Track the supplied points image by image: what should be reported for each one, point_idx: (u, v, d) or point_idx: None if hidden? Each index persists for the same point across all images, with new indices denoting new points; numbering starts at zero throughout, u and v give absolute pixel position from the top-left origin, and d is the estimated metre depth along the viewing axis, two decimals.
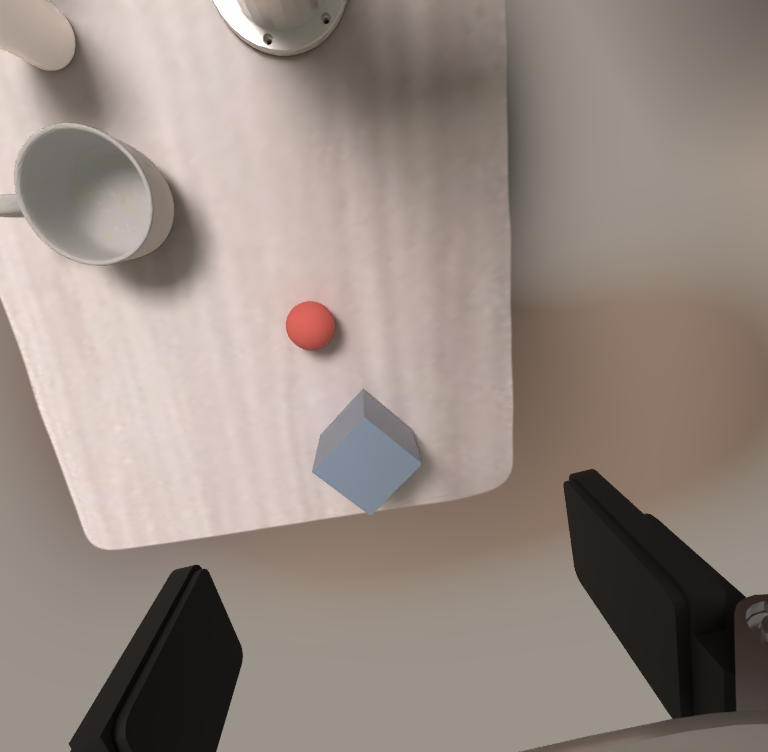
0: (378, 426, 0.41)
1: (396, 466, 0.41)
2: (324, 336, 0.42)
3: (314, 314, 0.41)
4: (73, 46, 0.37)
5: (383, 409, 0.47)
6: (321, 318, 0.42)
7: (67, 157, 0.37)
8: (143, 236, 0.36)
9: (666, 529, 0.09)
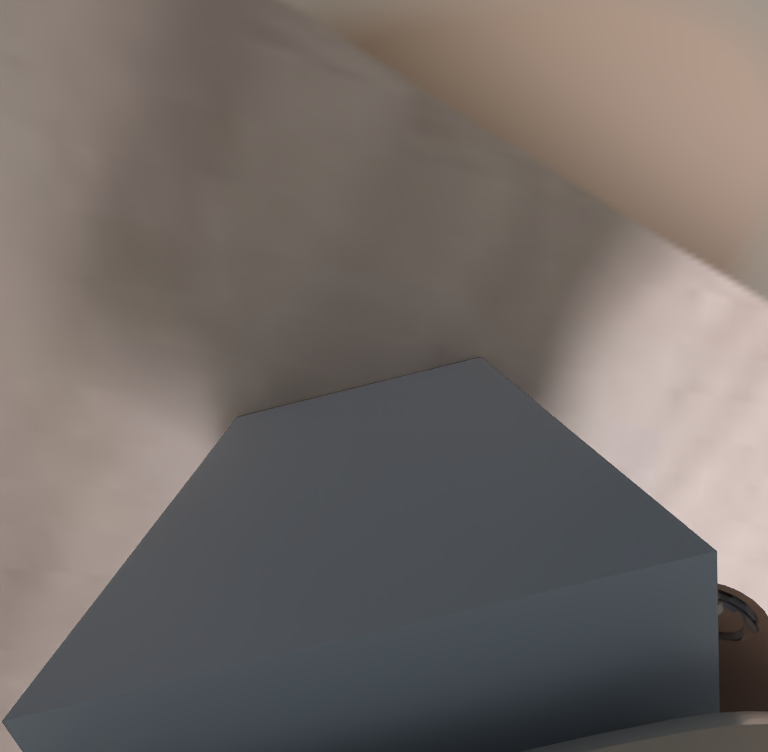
0: None
1: None
2: None
3: None
4: None
5: None
6: None
7: None
8: None
9: None
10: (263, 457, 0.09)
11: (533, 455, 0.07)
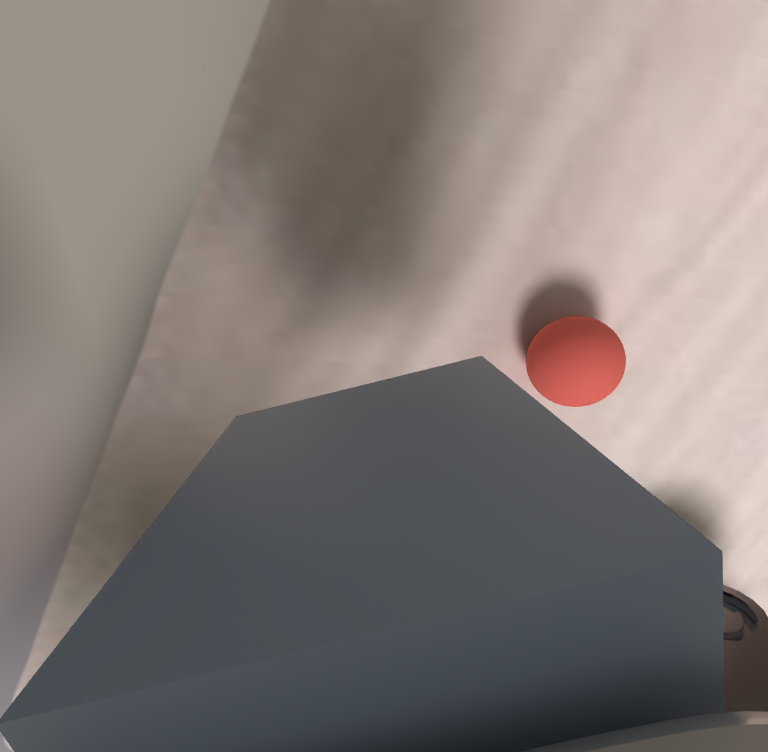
0: None
1: None
2: (579, 341, 0.21)
3: (564, 387, 0.22)
4: None
5: None
6: (559, 373, 0.21)
7: None
8: None
9: None
10: (262, 456, 0.09)
11: (535, 454, 0.07)
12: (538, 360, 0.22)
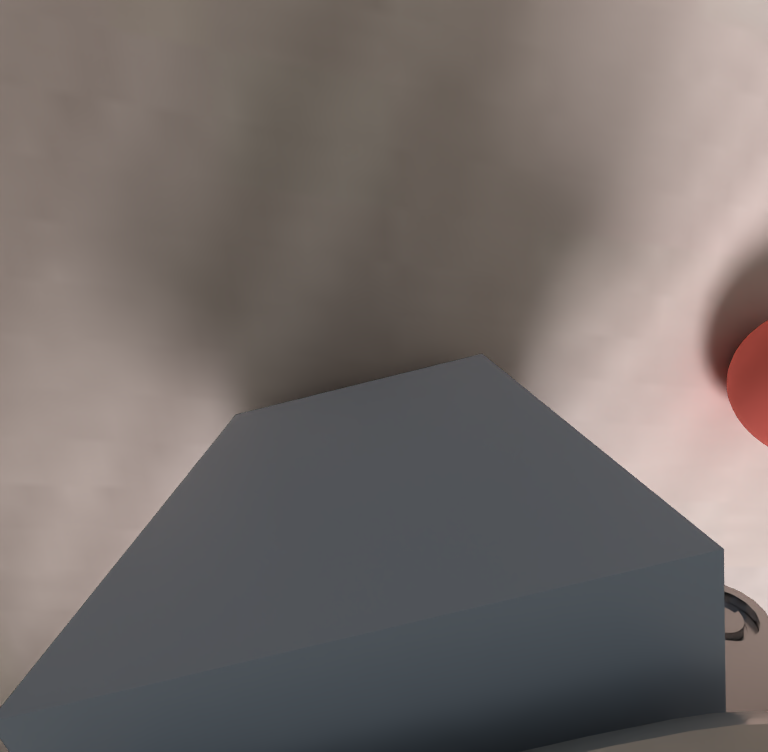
0: None
1: None
2: None
3: (733, 405, 0.14)
4: None
5: None
6: (730, 382, 0.13)
7: None
8: None
9: None
10: (261, 454, 0.09)
11: (534, 451, 0.07)
12: (736, 351, 0.14)
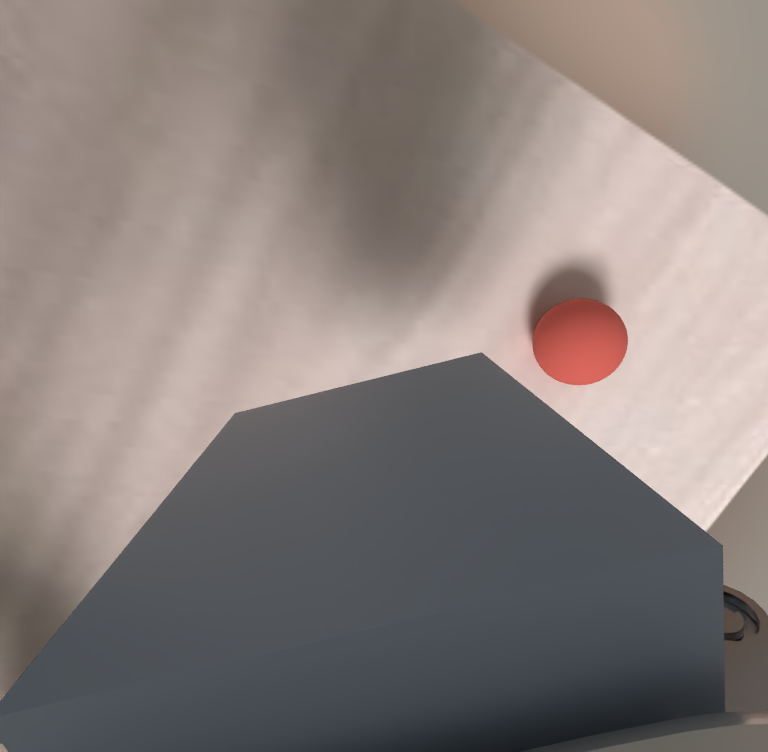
0: None
1: None
2: (607, 310, 0.23)
3: (609, 355, 0.22)
4: None
5: None
6: (605, 342, 0.22)
7: None
8: None
9: None
10: (260, 452, 0.09)
11: (533, 449, 0.07)
12: (580, 336, 0.22)
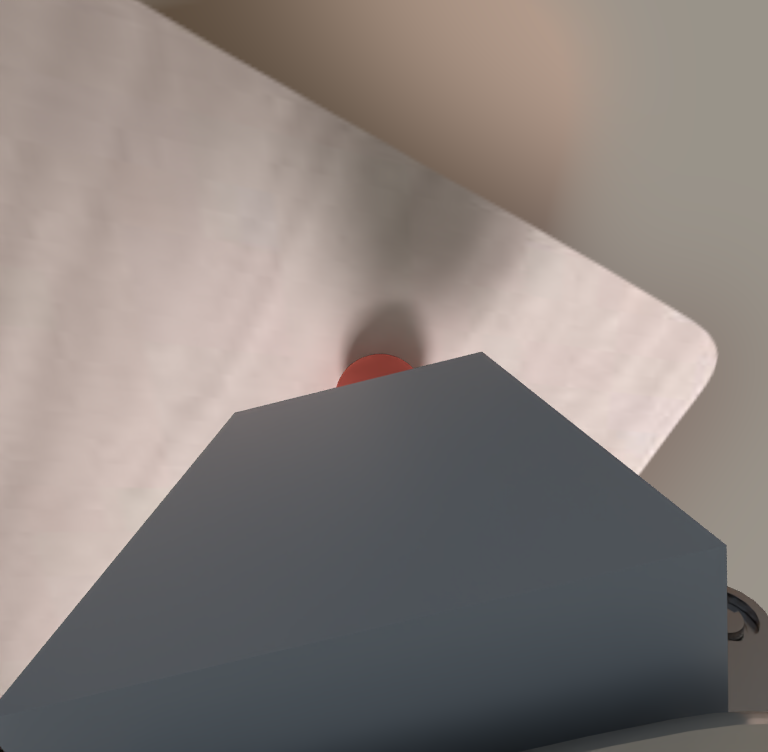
0: None
1: None
2: (392, 371, 0.21)
3: None
4: None
5: None
6: None
7: None
8: None
9: None
10: (259, 452, 0.09)
11: (534, 448, 0.07)
12: None
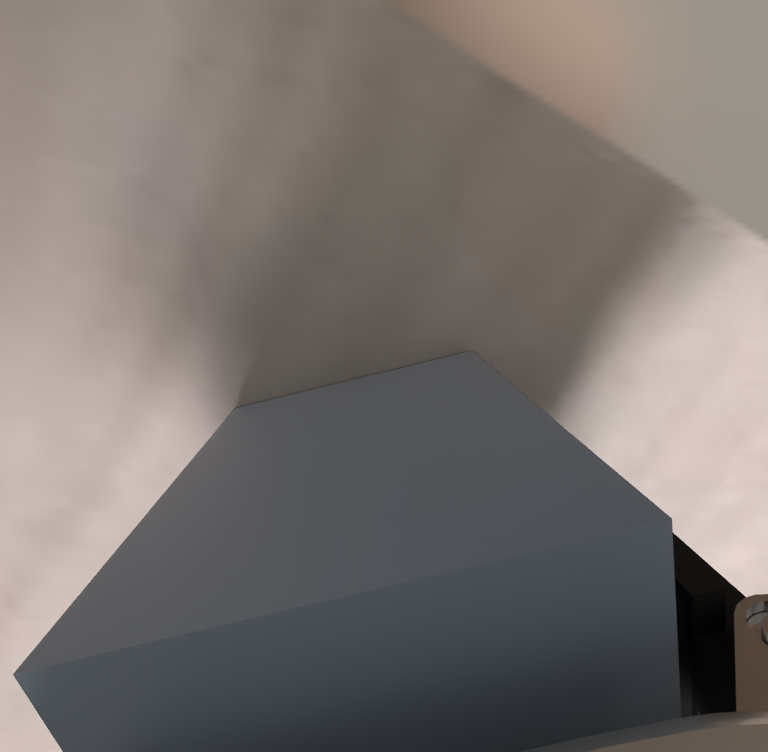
0: None
1: (221, 744, 0.05)
2: None
3: None
4: None
5: None
6: None
7: None
8: None
9: None
10: (259, 444, 0.10)
11: (513, 439, 0.07)
12: None
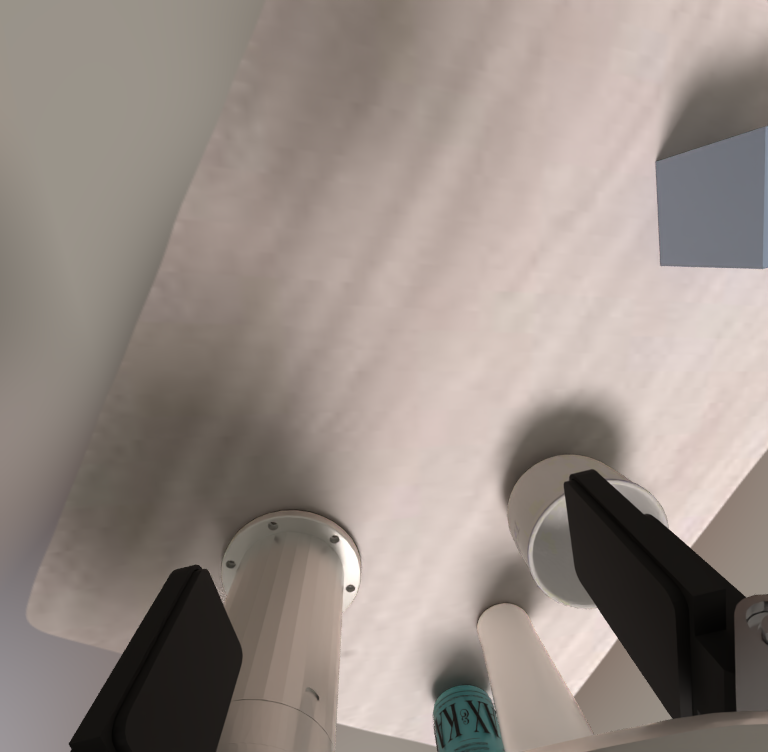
0: (756, 237, 0.25)
1: None
2: None
3: None
4: (489, 611, 0.41)
5: (673, 225, 0.31)
6: None
7: (571, 564, 0.36)
8: None
9: (666, 529, 0.09)
10: None
11: None
12: None
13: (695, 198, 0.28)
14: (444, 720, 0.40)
